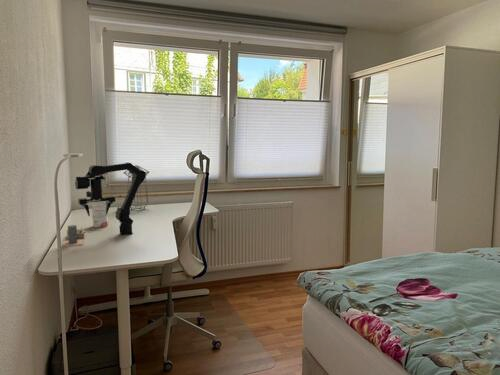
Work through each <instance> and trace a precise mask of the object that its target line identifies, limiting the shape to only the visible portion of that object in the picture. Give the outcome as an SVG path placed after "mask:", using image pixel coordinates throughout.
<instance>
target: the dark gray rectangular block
mask: <svg viewBox="0 0 500 375" xmlns="http://www.w3.org/2000/svg"><path fill="white" fill-rule="evenodd" d="M77 230H78V228H77V225H76V224H74V225H73V224H72V225H71V224H70V225H67V229H66V238H67V240H68V239H69V240H68V241H69V244H73V243H78V242H77V240H78V239H77Z"/></svg>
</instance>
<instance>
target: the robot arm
mask: <svg viewBox="0 0 500 375" xmlns="http://www.w3.org/2000/svg"><path fill="white" fill-rule="evenodd" d="M127 170H128V171H127ZM121 171H127V172H128V173H129V172H130V173H131V174H132V176H131V177H132V178H131V183H130V187H129V188H128V190H127V192H128V193H127V194H126V196H125V198H124V201H123V203H122V205H121V206H117V208H116V211H115V218H116V220H118V222H119V224H120V225H119V234H120V235H121V236H123V235H124V236H125V235H133V234H134V233H133V222H134V220H133V219H132V218H131V217H130V214H131V207H132V206H133V204H132V203H134V197H135V198H136V196H137V190H138V191H139V189H140V188H139V185H140V186H141V185H142V184H143V183H142V182H145V181H144V180H145V178H146V179H147V175H146V173H147V172H146V171H145V170H143V169H141V170H139V169H138V168H137V167H135V165H134V164H133V163H132V162H124V163H123V162H122V163H115V164H108V165H99V164H93V165H89V168H88V172H87V173H86V174H85V176H75V180H74V181H75V182H74V186H75V190H84V189H89V188H90V191H89V190H88V191H85V192H86V193H85V194H86V195H85V196H86V197H83V198H78V200H77V203H78V205H79V206H82V207H83V208H84V209H85V211H86V214H87V216H88V217H90V208H89V207H90V206H89V204H88V203H98V202H105V204H106V215H107V216H108V213H109V210H110V207H111V205H112V204H114V202H115V203H116V197H115V196H114V195H107V196H105V197H103V187H102V180H106V178H105V176H103V175H105V174H107V173H113V172H121ZM145 172H146V173H145ZM131 174H130V175H131ZM88 198H89V199H88Z"/></svg>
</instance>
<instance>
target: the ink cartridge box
mask: <svg viewBox="0 0 500 375" xmlns="http://www.w3.org/2000/svg"><path fill="white" fill-rule="evenodd" d="M91 208H92V210H91V212H92V213H91V215H92V227H93V228H101V227H102V228H103V227H104V228H105V227H108V226H109V222H108V220H109V219H108V218H109V217H108V214H107V215H106V203H95V204H94V203H93V204H91Z"/></svg>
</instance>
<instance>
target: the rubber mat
mask: <svg viewBox="0 0 500 375" xmlns="http://www.w3.org/2000/svg"><path fill="white" fill-rule="evenodd" d="M84 239H85V238H84ZM84 239H77V242H78V243H73V244H69V240H64V241H62V245H61V248H67V246H69V247H76V245H79V246H84V241H85V240H84Z"/></svg>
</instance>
